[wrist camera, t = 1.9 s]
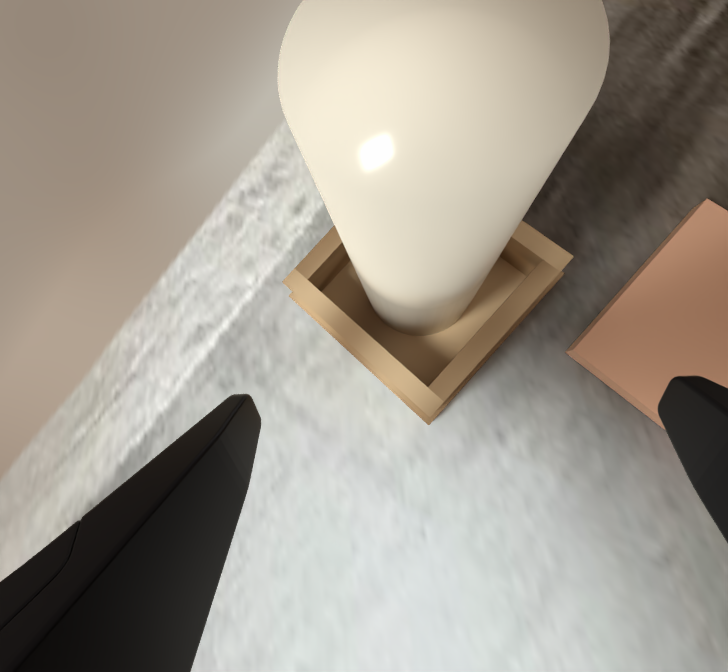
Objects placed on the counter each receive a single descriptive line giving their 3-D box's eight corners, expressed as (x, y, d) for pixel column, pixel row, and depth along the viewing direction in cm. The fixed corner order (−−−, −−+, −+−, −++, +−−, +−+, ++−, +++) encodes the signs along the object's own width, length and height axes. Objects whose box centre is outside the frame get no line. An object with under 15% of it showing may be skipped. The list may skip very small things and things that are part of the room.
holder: (557, 279, 20) (586, 255, 17) (428, 423, 20) (430, 429, 16) (411, 173, 22) (410, 133, 19) (294, 300, 22) (272, 282, 19)
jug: (477, 332, 19) (638, 176, 5) (370, 339, 20) (276, 216, 6) (464, 198, 21) (566, -190, 7) (364, 209, 21) (279, -121, 8)
